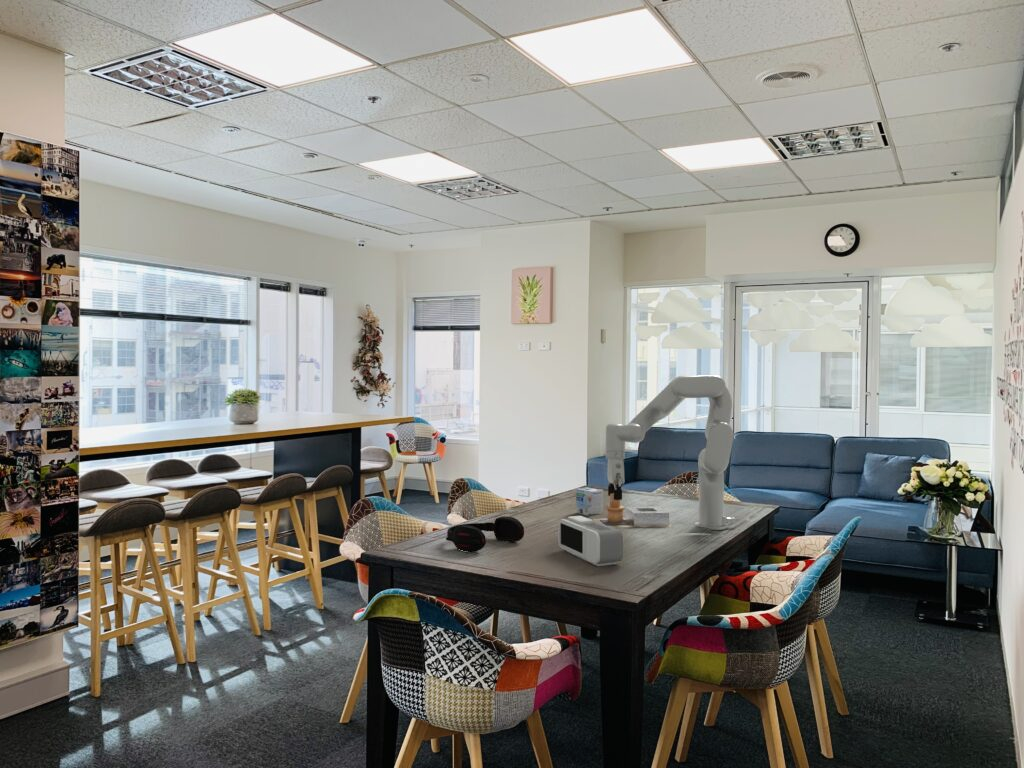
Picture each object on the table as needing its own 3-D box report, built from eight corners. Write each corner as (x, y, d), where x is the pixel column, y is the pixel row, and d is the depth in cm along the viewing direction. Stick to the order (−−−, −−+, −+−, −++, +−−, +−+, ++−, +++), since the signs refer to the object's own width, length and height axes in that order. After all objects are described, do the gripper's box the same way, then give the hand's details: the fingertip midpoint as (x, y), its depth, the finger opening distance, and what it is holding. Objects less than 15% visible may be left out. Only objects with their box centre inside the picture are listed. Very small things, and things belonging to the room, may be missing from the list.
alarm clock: (557, 550, 266) (558, 515, 266) (581, 547, 270) (582, 513, 270) (597, 569, 241) (597, 530, 241) (623, 566, 245) (623, 528, 245)
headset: (510, 558, 255) (510, 531, 255) (434, 553, 262) (434, 527, 261) (529, 540, 282) (529, 516, 282) (460, 536, 289) (460, 512, 289)
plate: (659, 520, 320) (659, 505, 320) (673, 529, 302) (673, 513, 302) (592, 521, 317) (592, 506, 317) (602, 530, 300) (602, 514, 299)
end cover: (622, 519, 313) (622, 492, 313) (626, 523, 306) (626, 495, 306) (603, 520, 313) (603, 492, 312) (607, 523, 305) (607, 495, 305)
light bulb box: (575, 513, 336) (575, 488, 336) (587, 511, 340) (587, 487, 340) (592, 516, 327) (592, 491, 327) (603, 515, 331) (604, 490, 331)
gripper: (630, 457, 301) (629, 501, 301) (619, 452, 318) (618, 494, 318) (611, 457, 300) (610, 501, 300) (601, 452, 317) (600, 494, 317)
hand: (614, 497), depth 309 cm, fingers open, 9 cm apart
